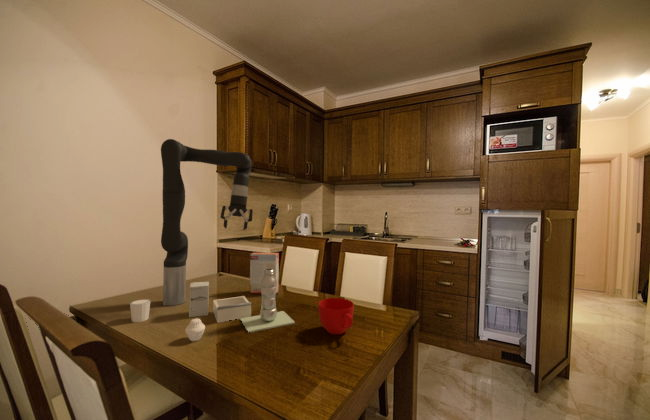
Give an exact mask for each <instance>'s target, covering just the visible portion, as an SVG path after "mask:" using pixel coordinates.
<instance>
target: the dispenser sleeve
mask: <svg viewBox="0 0 650 420" xmlns="http://www.w3.org/2000/svg"><path fill="white" fill-rule="evenodd" d="M212 304H213V305H212V308H213V309H212V313H213V315H214V317H215V320H216V322H217V324H219V323H225V321H226V322H230V321H229V320H232V321H235V319H237V320H240V319H241V318H246V317H252V301H249V300H248V299H247V298H246V296H245V295H242V296H241V295H240V296H235V297H228V298H222V299H221V298H219V299H213V302H212Z"/></svg>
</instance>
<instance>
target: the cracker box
mask: <svg viewBox="0 0 650 420" xmlns="http://www.w3.org/2000/svg"><path fill="white" fill-rule="evenodd" d="M279 254H280V253H279V252H252V253H250V254H249V255H250V257H249V259H250V260H249V267H250V268H249V293H250V294H261V295H262V292H261V285H260V283H261V280H262V279H263V277H264V276H265V275H264V269H269V268H271V269H274V274H273V276H274V277H275V279H276V281H277V286H276V294H277V293H278V292H279V280H280V279H279V278H280V277H279V275H280V272H279V270H280V269H279V268H280V266H279V264H280V263H279V261H280V259H279V258H280V255H279Z"/></svg>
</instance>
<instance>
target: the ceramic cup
mask: <svg viewBox="0 0 650 420" xmlns="http://www.w3.org/2000/svg"><path fill="white" fill-rule="evenodd" d="M354 311H355V305H354V302H353V301H352V300H350V299H346V298H339V297H329V298H324V299H322V300H320V301H319V302H318V315H319V320H320V323H321V325H322V326H323V327H324V329H325V330H326V332H327V333H329V334H331V335H342V334H344V333H345V331H347V329H349V328H352V326H353V323H354V320H353V319H354V318H353V317H354Z"/></svg>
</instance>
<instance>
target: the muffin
mask: <svg viewBox="0 0 650 420" xmlns="http://www.w3.org/2000/svg"><path fill="white" fill-rule="evenodd" d="M205 329H206V325H205V324H204V323H203V322H202V320H201V319H200V318H196V317H195V318H193V319H191V320H190V321H189V324H188V325H187V326H186V328H185V329H184V330H185V333H186V336H187V338H188V340H189V341H191V342H197V341H200V340H201V338H202V336H203V334H204V333H205Z"/></svg>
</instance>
